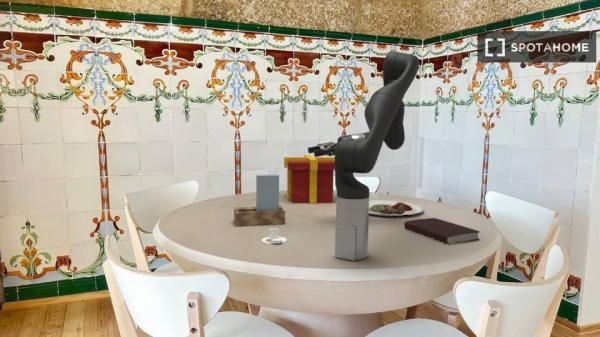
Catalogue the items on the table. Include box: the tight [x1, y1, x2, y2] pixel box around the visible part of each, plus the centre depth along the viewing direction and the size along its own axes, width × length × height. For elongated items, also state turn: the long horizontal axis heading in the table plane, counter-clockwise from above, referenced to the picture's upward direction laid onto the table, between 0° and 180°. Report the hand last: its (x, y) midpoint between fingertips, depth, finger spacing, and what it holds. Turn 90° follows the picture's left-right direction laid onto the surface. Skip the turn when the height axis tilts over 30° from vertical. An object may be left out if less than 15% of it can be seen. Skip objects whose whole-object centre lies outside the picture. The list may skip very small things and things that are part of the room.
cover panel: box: [255, 174, 280, 211], centre depth 162 cm, size 8×3×18 cm, turn 102°
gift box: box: [283, 154, 335, 205], centre depth 209 cm, size 25×25×20 cm
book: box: [403, 217, 480, 245], centre depth 150 cm, size 14×22×4 cm, turn 24°
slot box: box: [233, 205, 286, 227], centre depth 164 cm, size 18×9×5 cm, turn 102°
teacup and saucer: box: [261, 227, 287, 245], centre depth 140 cm, size 9×8×4 cm
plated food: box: [369, 199, 425, 217], centre depth 187 cm, size 30×30×3 cm
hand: (311, 152), depth 161 cm, fingers open, 8 cm apart
